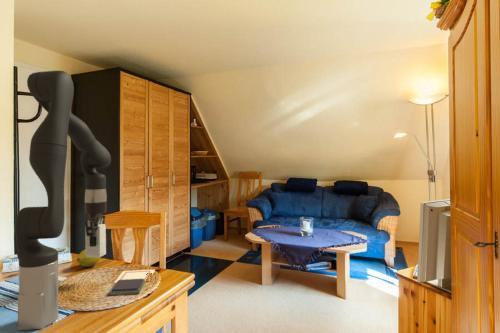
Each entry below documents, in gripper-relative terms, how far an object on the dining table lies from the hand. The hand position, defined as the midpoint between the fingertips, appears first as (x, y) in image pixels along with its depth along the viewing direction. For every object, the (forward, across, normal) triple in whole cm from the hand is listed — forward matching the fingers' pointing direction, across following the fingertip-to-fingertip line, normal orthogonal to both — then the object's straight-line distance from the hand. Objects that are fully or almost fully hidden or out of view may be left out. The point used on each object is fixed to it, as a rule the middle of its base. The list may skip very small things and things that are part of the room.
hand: (95, 244), depth 113 cm
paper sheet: (+14, +3, -14) cm, 20 cm away
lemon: (+14, +18, +9) cm, 24 cm away
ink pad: (+14, -9, -14) cm, 22 cm away
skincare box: (+5, 0, 0) cm, 5 cm away
